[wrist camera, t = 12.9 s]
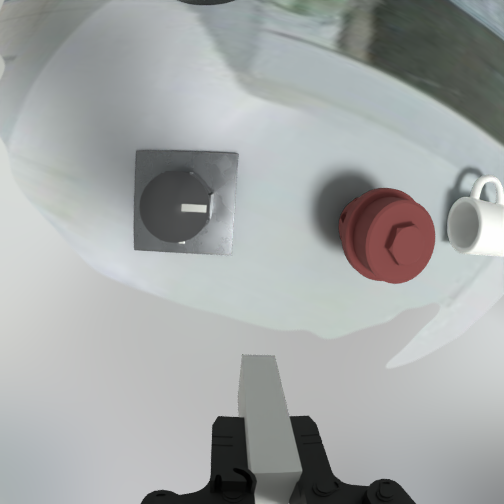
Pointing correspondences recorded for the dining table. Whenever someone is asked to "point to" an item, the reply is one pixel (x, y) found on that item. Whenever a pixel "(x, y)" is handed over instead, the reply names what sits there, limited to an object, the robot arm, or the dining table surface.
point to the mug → (478, 222)
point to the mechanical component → (387, 235)
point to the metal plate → (224, 188)
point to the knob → (176, 206)
